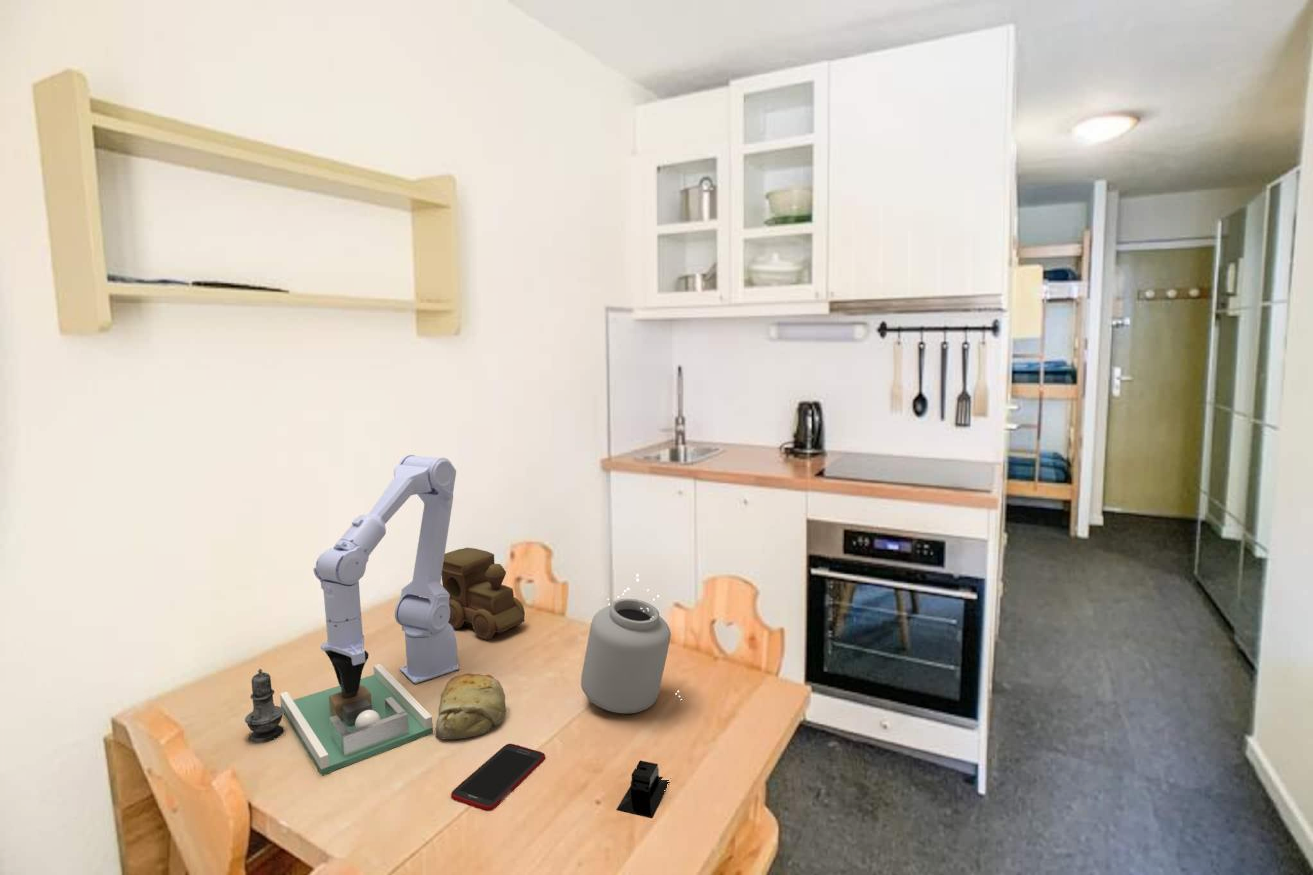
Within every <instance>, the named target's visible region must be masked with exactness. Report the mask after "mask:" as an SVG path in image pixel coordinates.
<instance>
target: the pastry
mask: <svg viewBox="0 0 1313 875" xmlns="http://www.w3.org/2000/svg"><path fill="white" fill-rule="evenodd" d="M506 710H507V709H506V694H505V691H504V688H503V686H502V684H501V682H500V680H498V679H497V678H496V677H494V676H493V675H492V674H485V675H484V674H480V673H479V674H478V673H464V674H460V675H457V676H454V677H452V678H450V679H449V680H448V681H447V683H446V685H445V686H444V688H443V690H442V692H441V694H440V700H439V706H438V716H437V717H438V718H437V720H436V724H435V729H434V730H435V737H436V738H438V739H442V740H456V739H457V740H458V739H464V738H466V739H467V738H473V737H476V736H477V737H478V736H481V735H485V734H487V733H488V732H489V731H492V729H493V728H495V727H496V726H497V725H498V724H500V722H501V721H502V720H503V718H504V715H505V714H506Z"/></svg>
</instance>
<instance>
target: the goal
mask: <svg viewBox="0 0 1313 875" xmlns="http://www.w3.org/2000/svg"><path fill="white" fill-rule="evenodd" d="M385 711H386V718H385V719H382V720H379V721H376V722H373V723H370V724H368V725H365V726H362V727H359V728H356V729H353V730H351V731H348V729H347V728H346V727H345V725H344V724H343V723H342V721H341V720H340V719H339V717H338V716H337V715H336V716H333V717H330V718H329V720H330V732H331V738H332V739H333V741H334V742H335V744H336V745H337V747H338V748H339V749H340V751H341V752H342V754H343V755H344V757H347V756H350V755H352V754H355V753H358V752H360V751H363V750H366V749H368V748H371V747H374V746H376V745H379V744H382V743H385V742H387V741H390V740H393V739H395V738H398V737H401V736H403V735H406V734H409V725H408V714H407V713H406V712H405V711H404V710H403V708H402V707H401V706H400V705H399V704H398V703H397V702H396V701H395V700H394V699H393V698H392V697H389V698H386V699H385Z"/></svg>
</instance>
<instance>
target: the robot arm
mask: <svg viewBox="0 0 1313 875" xmlns="http://www.w3.org/2000/svg"><path fill="white" fill-rule="evenodd" d="M456 476H457V469H456V468H455V466H454V465H453V463H452V461H450V460H449V459H448V458H446V457H432V456H430V457H429V456H417V455H414V454H407V455H405V456H404V457H402V458H401V459H400V461H399V463H398V464H397V465H396V466H395V467H394V468H393V478H392V480H391V481H390V483H389V484H388V486H387V487H386V489H385V490H384V492H383V493H382V494H381V496H380V498H379V499H378V500H377V502H376V503H375V504H374V506H373V507H372V509H371V510H370V512H369V513H367V514H361V515H359V516H358V517H355V518H353V520H352V521H351V525H350V527H349V528H348V529H347V530H346V531H345V533H344V534H343V535H342V536H341V538H340V539H339V540H338V541H336V543H335V544H334V546H333V547H331V548H328V549H326V550H325V551H323V552H322V553H321V554H319V557H318V558H317V559H316V563H315V567H313V568H312V569H313V574H314V576H315V578H317V580H319V582H320V589H322V591H323V600H324V601H323V602H324V612H325V625H326V637H327V640H326V642H323V643H321V644H320V649H321V651H323V652H324V653H325V655H326V656H327V657H328V658H329V660H330V662H331V664H332V667H333V670H334V672H335V675H336V680H337V682H338V686H341V679H342V684H343V688H344V690H345V692H346V694H349V693H352V692H355V691H358V690H359V686H360V680H361V679H362V674H363V672H364V667H365V665H366V663H367V661H368V659H369V656H370V655H369V653H368V651H367V650H364V647H365V635H364V633H363V632H364V631H363V622H362V620H363V618H362V610H361V609H362V606H361V596H360V595H361V594H360V579H363V577H364V576H365V573H366V567H367V563H368V562H369V559H370V558H369V557H370V555H371V554H372V552H373V551H374V549H375V548H376V547H377V546H378V544H379V543H380V542H381V541H382V540H383V538H384V537H385V535H386V533H387V528H386V524H387V523H388V522H389V521H390V519H391V518H392V517H393V516H394V515H396V513H397V511H399V510H400V508H401V507H402V506H404V504H405V502H407V501H408V499H410V498H411V496H414V495H417V496H418V497H419V499H420V500H421V501H422V502H423V510H422V517H421V523H420V528H419V529H420V531H419V536H418V542H417V549H416V550H417V551H416V555H415V556H416V557H415V563H414V569H413V576H412V581H411V582H409V583H408V584H406V586H404V587H403V588H401V592H400V597H399V599H398V602H397V604H396V606H395V609H394V619H395V621H396V622H397V624H398V625H400V626H401V631H403V632H404V638H405V639H404V640H405V653H406V655H405V656H406V665H403V666H402V667H400V668H399V670H400V671H401V673H403V675H404V676H406V677H407V678H408V679H409V680H410V681H411V682H412V684H420V683H421V682H425V681H428V680H431V679H434V678H437V677H440V676H443V675H445V674H446V675H447V674H449V673H451V672H455V671H457V670H459V669H460V666H459V665H458V664H459V663H458V649H457V648H458V647H457V643H458V642H457V637H456V632H455V629H454V628H453V627H452V626H451V624H449V623H448V621H449V618H450V606H449V598H450V595H449V593H448V592H447V591H446V589H445V588H444V587H443V584H442V583H441V582H442V569H443V562H444V555H445V553H446V548H447V547H446V546H447V541H448V535H449V530H450V529H449V527H450V522H451V517H452V516H451V515H452V508H453V501H454V489H455V482H456ZM340 675H341V678H340Z"/></svg>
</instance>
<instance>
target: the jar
mask: <svg viewBox="0 0 1313 875" xmlns="http://www.w3.org/2000/svg"><path fill="white" fill-rule="evenodd" d="M635 576H636V577H639V574H638V573H637V574H636V575H635ZM635 581H636V582H639V581H640V579H639V578H636V580H635ZM627 591H630V588H629V587H627V588H626V589H625V590H623V593H622V596H624V593H626V592H627ZM646 591H647V592H649V589H647V590H646ZM656 597H657V598H660V595H656ZM617 598H618V599H615V601H613V602H612V603H608V606H606V607H605V606H604V607H602V608H601V609H599V611H597V612H596V613H595V614H594V615H593V618H592V620H591V623H590V627H589V634H588V638H587V644H586V650H585V655H584V662H583V664H582V665H583V666H582V671H581V677H580V678H581V679H580V686H581V690H582V691H583V693H584V695H585V697H586V698H587V699H588V700H589V701H590V702H591V703H592V704H594V705H595V706H597V707H599V708H601V709H603V710H606V711H608V712H612V713H617V714H637V713H640V712H643V711H645V710H647V709H649V708H650V707H651V706H653V705H654V704H655V702H656V700H657V699H658V697H659V693H660V689H661V684H662V680H663V679H662V678H663V676H664V670H665V666H666V661H667V656H668V651H669V647H670V643H671V636H672V633H671V632H672V631H671V629H670V626H669V625H668V623H667V622H666V621H665V619H664V618H663V617H661V616H660V612H659V610H658V609H657V608H656V607H655V606H654V605H652V604H650V603H649V602H646V601H643V600H641V599H640V600H639V599H634V598H620V596H617ZM607 600H608V601H609V600H610V599H609V598H607ZM652 600H653V601H655V598H653V599H652ZM677 693H680V690H677V692H676V693H675V696H676V695H677ZM678 698H681V695H678ZM681 700H683V698H681V699H680V701H681Z"/></svg>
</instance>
